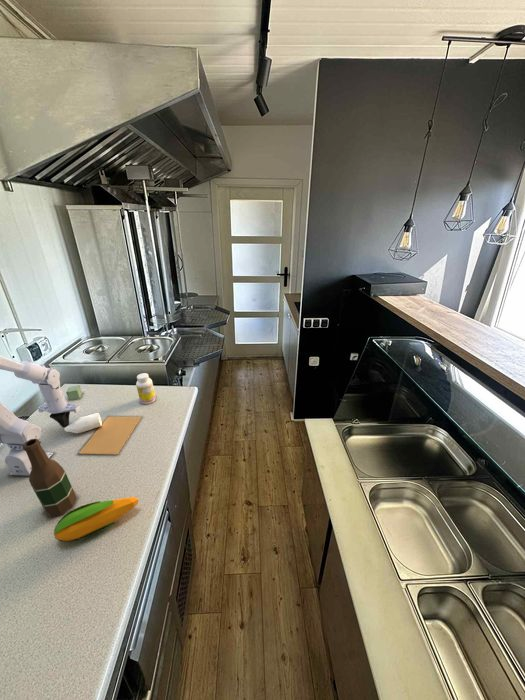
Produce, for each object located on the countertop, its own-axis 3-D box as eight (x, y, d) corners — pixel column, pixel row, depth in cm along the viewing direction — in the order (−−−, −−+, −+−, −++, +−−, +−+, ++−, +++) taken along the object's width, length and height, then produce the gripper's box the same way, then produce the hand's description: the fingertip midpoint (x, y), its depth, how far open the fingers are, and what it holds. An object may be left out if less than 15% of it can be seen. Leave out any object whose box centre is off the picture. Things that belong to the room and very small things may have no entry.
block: (80, 398, 131) (77, 390, 129) (68, 400, 129) (65, 392, 127) (82, 393, 134) (79, 385, 132) (71, 394, 133) (68, 386, 131)
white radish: (67, 431, 111) (62, 419, 109) (101, 420, 116) (97, 409, 114) (66, 440, 107) (61, 429, 104) (102, 428, 111) (97, 417, 109)
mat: (117, 454, 100) (117, 454, 100) (78, 454, 100) (78, 453, 100) (141, 417, 118) (141, 416, 118) (108, 417, 118) (108, 416, 118)
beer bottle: (61, 519, 79) (29, 456, 68) (38, 514, 80) (2, 451, 70) (83, 495, 86) (56, 433, 75) (61, 490, 87) (31, 430, 77)
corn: (50, 511, 73) (133, 478, 81) (60, 527, 77) (139, 495, 85) (47, 538, 67) (137, 500, 76) (58, 555, 71) (142, 517, 79)
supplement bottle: (139, 398, 130) (133, 373, 124) (155, 394, 133) (149, 370, 127) (141, 406, 125) (134, 381, 119) (156, 402, 127) (151, 377, 121)
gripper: (80, 391, 108) (90, 419, 114) (43, 390, 109) (55, 419, 115) (68, 402, 102) (79, 431, 108) (28, 402, 102) (42, 431, 108)
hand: (66, 426), depth 111 cm, fingers closed
